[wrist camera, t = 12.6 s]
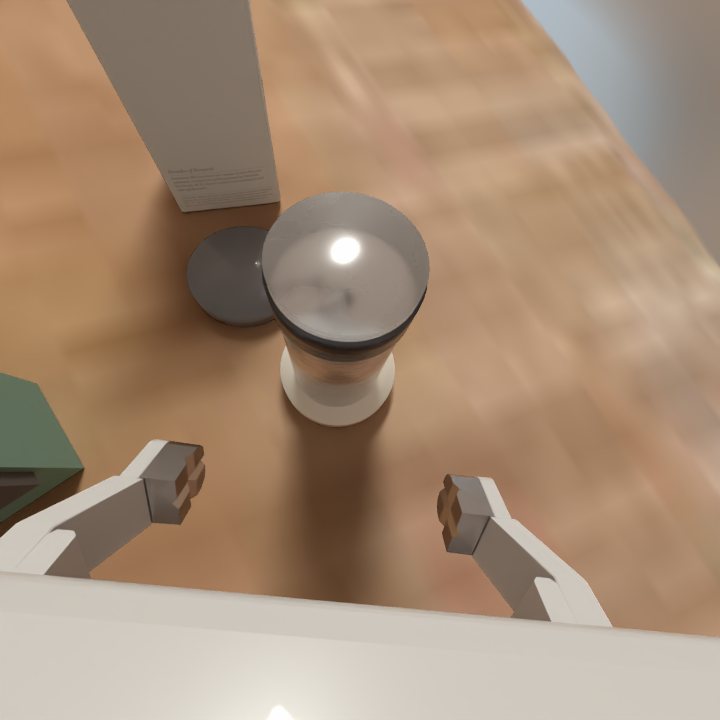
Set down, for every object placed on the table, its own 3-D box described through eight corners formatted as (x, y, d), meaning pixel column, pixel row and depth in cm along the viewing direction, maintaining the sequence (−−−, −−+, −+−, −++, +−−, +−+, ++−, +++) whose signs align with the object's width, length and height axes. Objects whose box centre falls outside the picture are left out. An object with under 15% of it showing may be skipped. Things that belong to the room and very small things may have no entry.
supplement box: (283, 204, 25) (245, -34, 13) (180, 215, 24) (37, -36, 12) (269, 132, 27) (226, -129, 15) (173, 139, 26) (47, -138, 14)
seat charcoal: (229, 346, 21) (224, 339, 20) (173, 269, 23) (165, 258, 21) (318, 291, 23) (318, 281, 22) (262, 222, 25) (258, 210, 23)
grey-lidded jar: (327, 427, 19) (330, 375, 9) (276, 358, 20) (223, 238, 10) (395, 374, 21) (467, 276, 10) (344, 312, 22) (361, 165, 11)
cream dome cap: (326, 451, 20) (326, 449, 19) (260, 361, 21) (257, 355, 20) (412, 382, 22) (417, 377, 21) (347, 304, 23) (348, 295, 22)
